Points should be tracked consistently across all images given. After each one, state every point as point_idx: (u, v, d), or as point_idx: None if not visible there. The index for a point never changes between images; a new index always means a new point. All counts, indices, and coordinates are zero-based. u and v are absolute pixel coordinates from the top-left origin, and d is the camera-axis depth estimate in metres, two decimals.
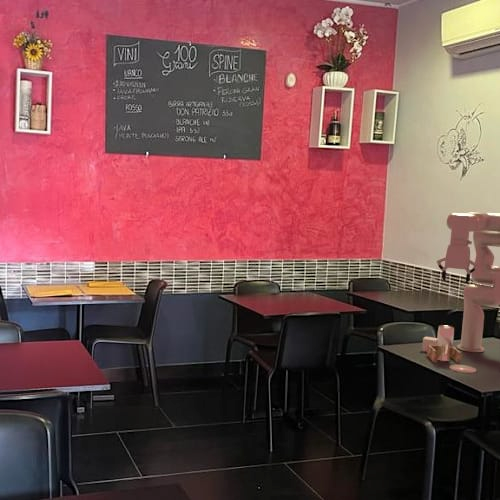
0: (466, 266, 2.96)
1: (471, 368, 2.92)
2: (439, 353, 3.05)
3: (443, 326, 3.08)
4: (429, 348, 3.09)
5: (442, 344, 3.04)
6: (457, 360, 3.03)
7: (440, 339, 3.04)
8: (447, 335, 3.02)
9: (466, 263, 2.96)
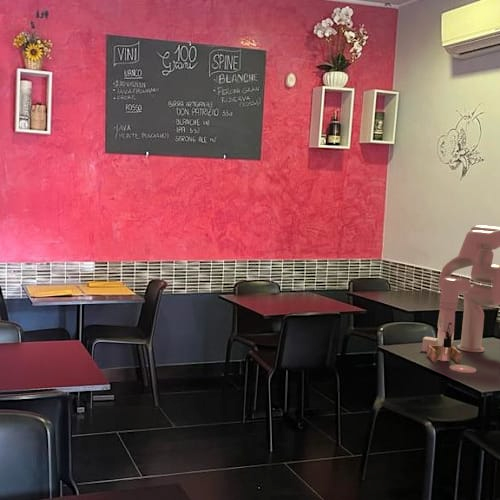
0: None
1: (471, 368, 2.92)
2: (439, 353, 3.05)
3: None
4: (429, 348, 3.09)
5: (442, 344, 3.04)
6: (457, 360, 3.03)
7: (440, 339, 3.04)
8: None
9: None
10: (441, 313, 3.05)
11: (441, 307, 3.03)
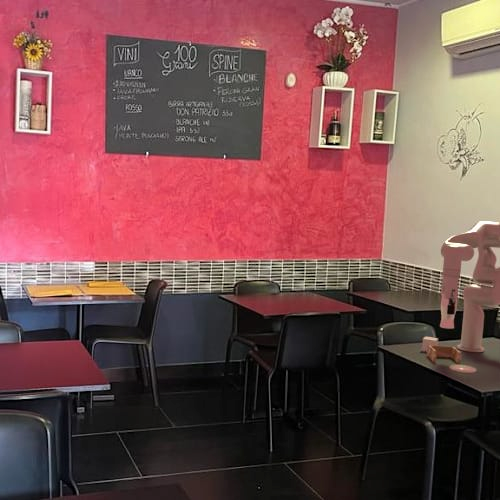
0: None
1: (471, 368, 2.92)
2: (443, 320, 3.04)
3: None
4: (429, 348, 3.09)
5: (446, 311, 3.02)
6: (457, 360, 3.03)
7: (443, 306, 3.03)
8: None
9: None
10: (444, 280, 3.03)
11: (444, 274, 3.02)
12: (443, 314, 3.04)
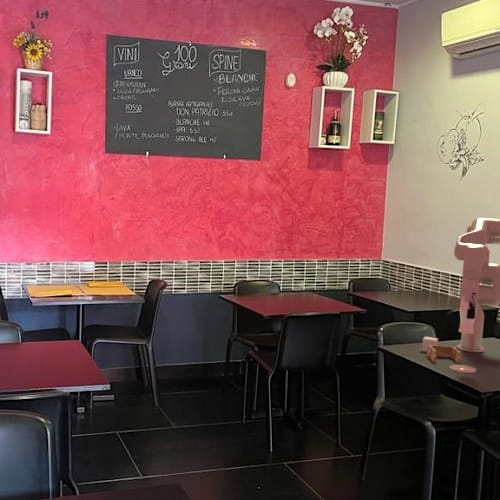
0: None
1: (471, 368, 2.92)
2: (462, 325, 2.89)
3: None
4: (429, 348, 3.09)
5: (465, 315, 2.87)
6: (457, 360, 3.03)
7: (463, 310, 2.87)
8: None
9: None
10: (464, 283, 2.88)
11: (464, 276, 2.87)
12: (462, 318, 2.88)
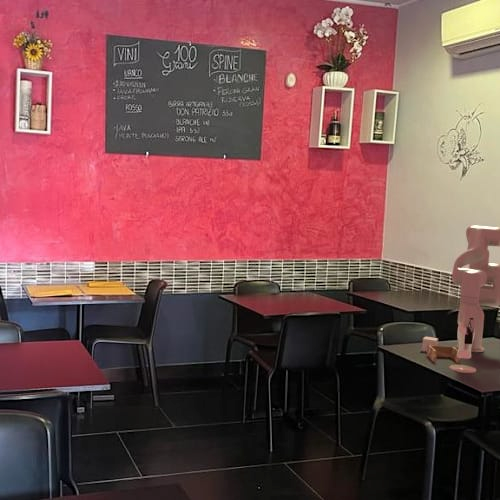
0: None
1: (471, 368, 2.92)
2: (459, 350, 2.90)
3: None
4: (429, 348, 3.09)
5: (463, 340, 2.88)
6: (457, 360, 3.03)
7: (460, 335, 2.88)
8: None
9: None
10: (462, 308, 2.89)
11: (462, 301, 2.88)
12: (460, 343, 2.89)
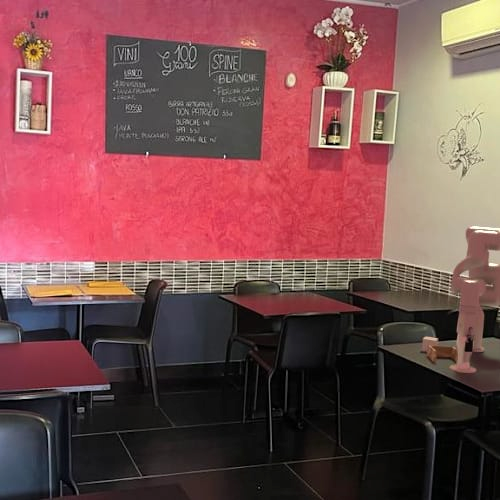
0: None
1: (471, 368, 2.92)
2: (458, 361, 2.91)
3: None
4: (429, 348, 3.09)
5: (462, 351, 2.89)
6: None
7: (460, 346, 2.89)
8: None
9: None
10: (461, 317, 2.90)
11: (461, 310, 2.88)
12: (459, 354, 2.90)
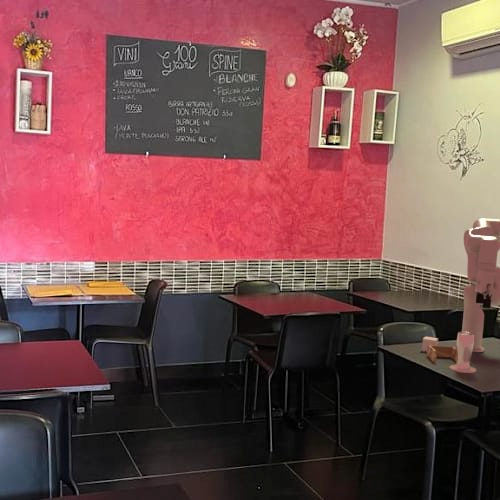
0: None
1: (471, 368, 2.92)
2: (458, 361, 2.91)
3: (462, 332, 2.94)
4: (429, 348, 3.09)
5: (462, 351, 2.89)
6: None
7: (460, 346, 2.89)
8: (467, 342, 2.88)
9: None
10: (479, 274, 2.96)
11: (479, 268, 2.95)
12: (459, 354, 2.90)
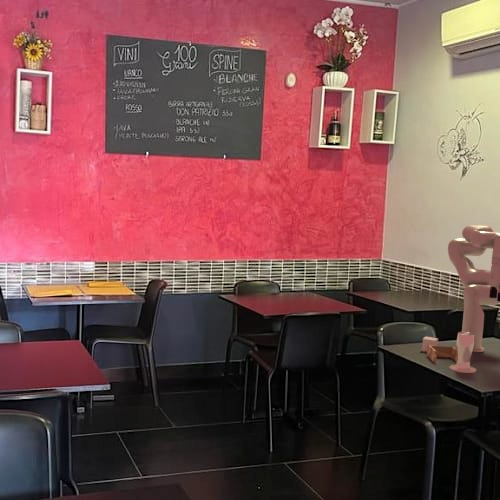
0: None
1: (471, 368, 2.92)
2: (458, 361, 2.91)
3: (462, 332, 2.94)
4: (429, 348, 3.09)
5: (462, 351, 2.89)
6: None
7: (460, 346, 2.89)
8: (467, 342, 2.88)
9: None
10: (493, 269, 3.05)
11: (494, 263, 3.03)
12: (459, 354, 2.90)
